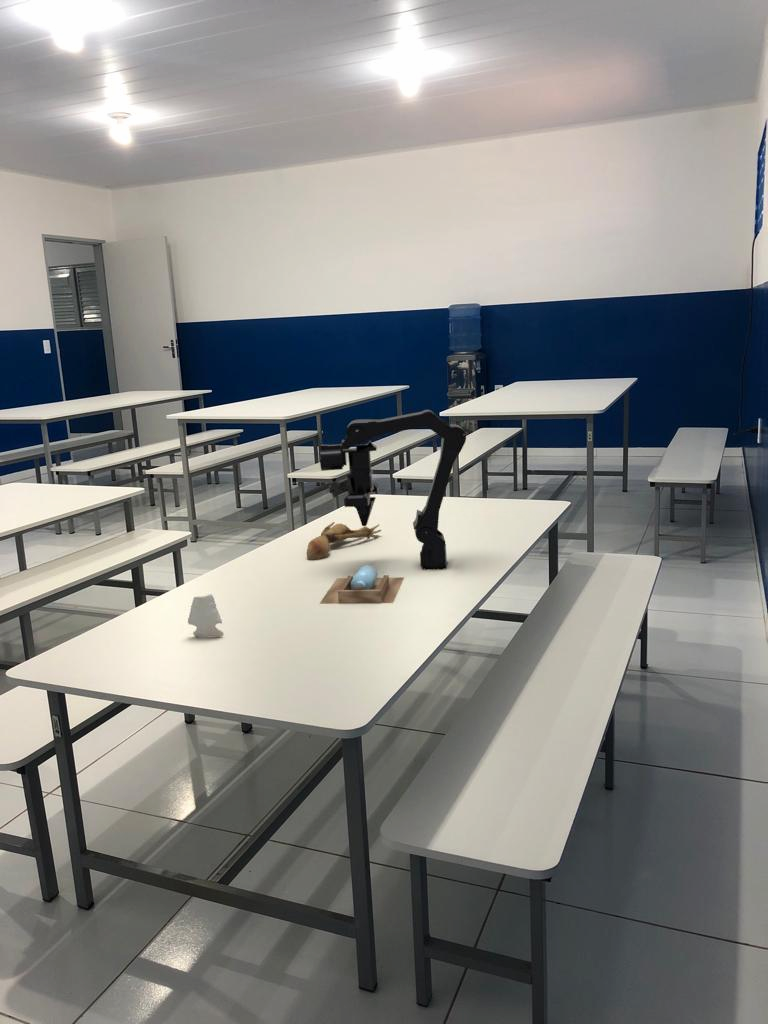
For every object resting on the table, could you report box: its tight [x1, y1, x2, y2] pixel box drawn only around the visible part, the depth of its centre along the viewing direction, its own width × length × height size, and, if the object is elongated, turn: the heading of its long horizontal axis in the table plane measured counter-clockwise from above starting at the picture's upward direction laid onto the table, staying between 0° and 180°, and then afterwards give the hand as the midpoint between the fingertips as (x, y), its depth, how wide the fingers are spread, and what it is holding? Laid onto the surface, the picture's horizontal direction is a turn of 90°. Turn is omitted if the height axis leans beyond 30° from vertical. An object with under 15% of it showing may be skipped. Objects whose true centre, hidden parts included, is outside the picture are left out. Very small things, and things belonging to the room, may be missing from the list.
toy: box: [306, 521, 382, 560], centre depth 256 cm, size 17×8×30 cm
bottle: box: [351, 565, 379, 590], centre depth 209 cm, size 5×5×11 cm
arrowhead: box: [187, 593, 224, 638], centre depth 186 cm, size 8×2×10 cm, turn 81°
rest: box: [319, 574, 405, 605], centre depth 211 cm, size 18×20×4 cm
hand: (364, 525), depth 225 cm, fingers closed
